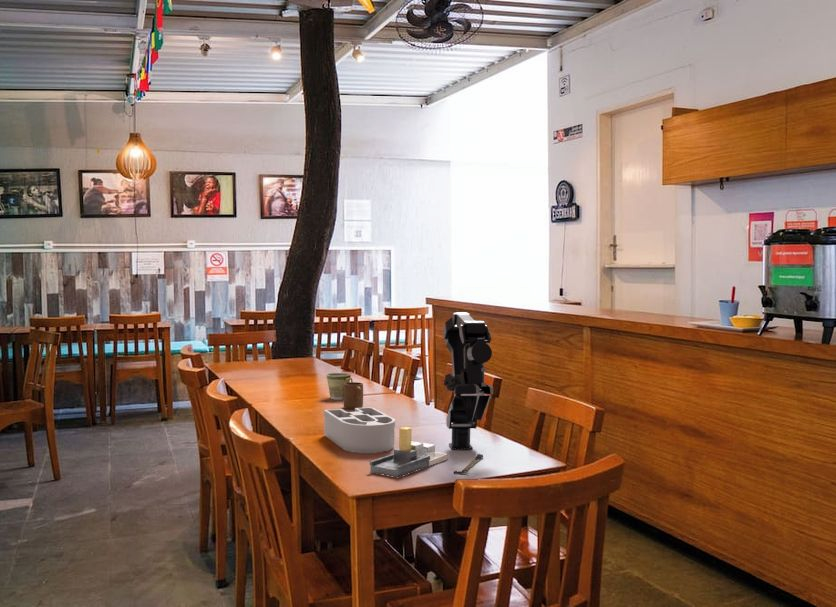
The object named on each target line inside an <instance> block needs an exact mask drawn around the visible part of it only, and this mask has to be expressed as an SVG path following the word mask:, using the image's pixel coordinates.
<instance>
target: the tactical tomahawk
mask: <svg viewBox="0 0 836 607" xmlns="http://www.w3.org/2000/svg"><path fill="white" fill-rule="evenodd" d="M482 458H484V455H483V454H481V453H479V454H476V456H475V458H473V459H472V460H471V461H470V462H469V463H468V464H467V465H466V466H465V467H463V469H461V471H458V470H454V471H453V474H454V475H461V476H468V477H469V476H470V475H471V473H470V472H469V471H470V469H472V468H474V466H475V465H476V464H478V463H479V462H480V461H481V460H482Z"/></svg>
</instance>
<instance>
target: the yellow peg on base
mask: <svg viewBox="0 0 836 607" xmlns="http://www.w3.org/2000/svg"><path fill="white" fill-rule="evenodd" d="M412 430H413V427H407V426H403V427H399V435H398V436H399V437H398V439H399V443H398V444H399V446H398V447H397V448H393V454H394V460H395V461H400V462H406V463H408V462H411V461H414V460H417V450H412V449H411V441H412V438H413V437H412V435H413V434H412V432H413V431H412Z"/></svg>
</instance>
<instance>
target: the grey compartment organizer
mask: <svg viewBox="0 0 836 607" xmlns="http://www.w3.org/2000/svg"><path fill="white" fill-rule="evenodd" d="M323 416H324V421H323V422H324V426H323V429H324V430H323V432H324V436H325V437H326V438H328V440H330V441H331V442H333V443H335V444H336V445H337V446H338V447H339V448H341V449H342V450H344V451H346V452H350V453H355V452H357V453H356V454H375V453H374V452H380V453H384V452H383V451H386V452H388V451H387V450H389V451H391V450H393V449H394V446H395V427H396V419H395V418H394V417H392V416H390V415H388V414H386V413H385V412H382V411H380V410H378V409H377V408H374V407H371V406H370V407H368V406H367V407H362V408H355V409H354V411H346V410H344V409H343V408H336V409H332V408H331V409H323ZM390 449H391V450H390Z"/></svg>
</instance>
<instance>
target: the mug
mask: <svg viewBox="0 0 836 607" xmlns="http://www.w3.org/2000/svg"><path fill="white" fill-rule="evenodd" d="M343 408H344V409H347V410H355V408H364V383H362V382H357V381H353V382H351V381H350V382H348V383H344V399H343Z"/></svg>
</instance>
